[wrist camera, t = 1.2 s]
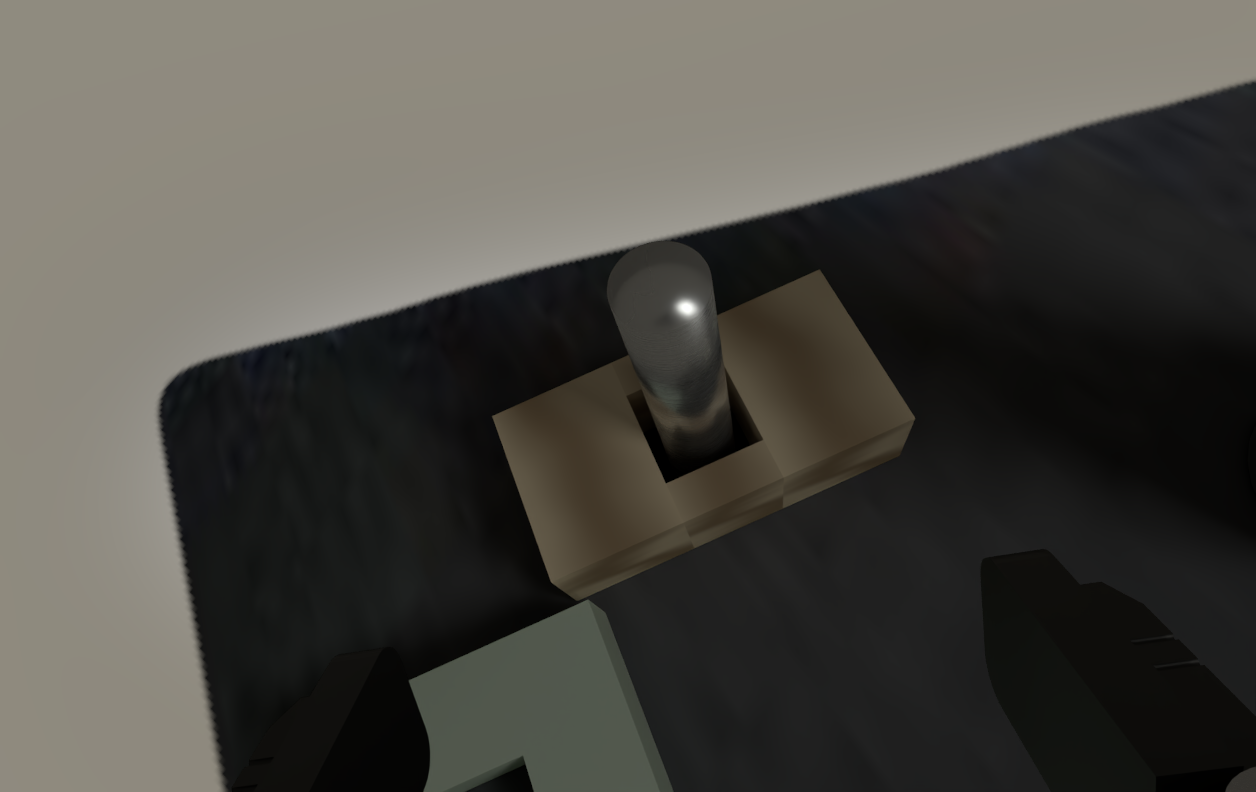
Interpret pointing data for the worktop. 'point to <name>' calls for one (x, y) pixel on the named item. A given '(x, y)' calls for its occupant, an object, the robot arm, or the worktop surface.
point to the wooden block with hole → (726, 489)
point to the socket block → (541, 712)
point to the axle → (675, 349)
